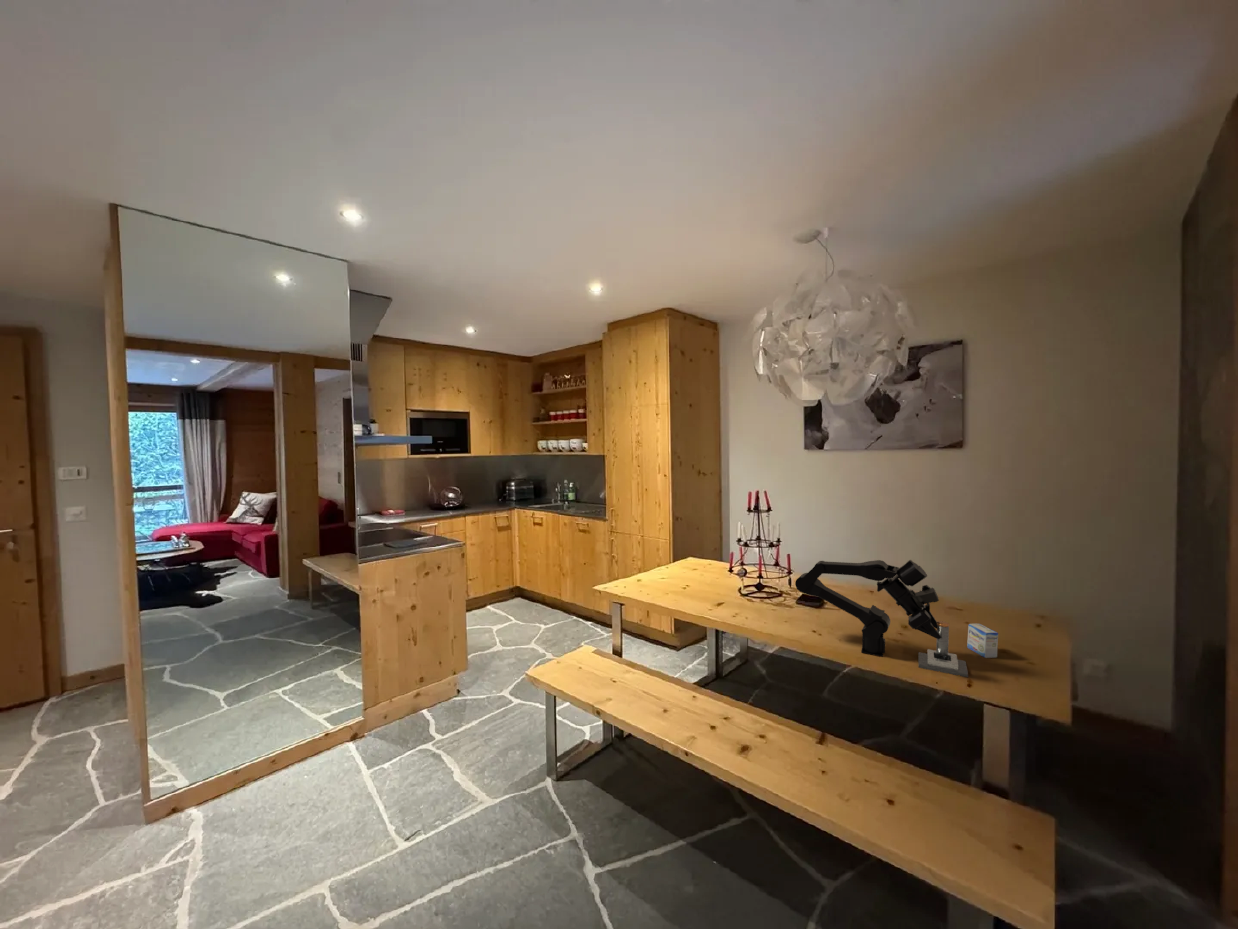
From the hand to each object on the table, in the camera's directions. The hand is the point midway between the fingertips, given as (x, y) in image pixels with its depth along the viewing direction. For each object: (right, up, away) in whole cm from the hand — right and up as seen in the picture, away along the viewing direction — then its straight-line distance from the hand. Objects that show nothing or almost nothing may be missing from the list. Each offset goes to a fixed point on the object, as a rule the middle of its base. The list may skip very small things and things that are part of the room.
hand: (939, 633), depth 159 cm
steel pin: (+1, -10, 0) cm, 10 cm away
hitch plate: (+1, -11, 0) cm, 11 cm away
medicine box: (+20, -10, +9) cm, 24 cm away
